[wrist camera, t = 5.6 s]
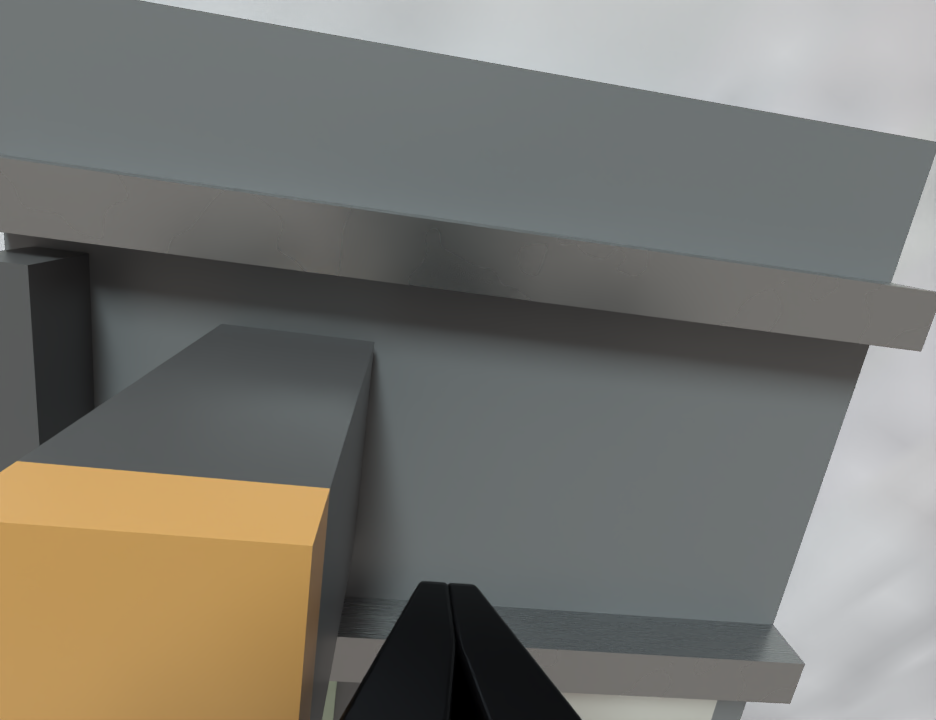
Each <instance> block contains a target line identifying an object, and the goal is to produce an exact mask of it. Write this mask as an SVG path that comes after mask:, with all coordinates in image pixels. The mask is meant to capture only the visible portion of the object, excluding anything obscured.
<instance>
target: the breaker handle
mask: <svg viewBox="0 0 936 720" xmlns="http://www.w3.org/2000/svg"><path fill="white" fill-rule="evenodd" d="M373 352H374V342H373V341H364V340H356V339H347V338H339V337H330V336H322V335H313V334H305V333H296V332H288V331H279V330H271V329H262V328H254V327H245V326H237V325H228V324H220V325H219V326H217V327H216V328H214V329H213V330H211V331H210V332H208V333H207V334H205V335H204V336H203V337H201V338H200V339H198V340H197V341H195V342H194V343H192V344H191V345H189V346H188V347H186V348H185V349H183V350H182V351H180V352H179V353H177V354H176V355H174V356H173V357H171V358H170V359H168V360H167V361H165V362H164V363H162V364H161V365H159V366H158V367H156V368H155V369H153V370H152V371H150V372H149V373H147V374H146V375H144V376H143V377H141V378H140V379H138V380H137V381H135V382H134V383H133V384H131V385H130V386H128V387H127V388H125V389H124V390H122V391H121V392H119V393H118V394H116V395H115V396H113V397H112V398H110V399H109V400H107V401H106V402H104V403H103V404H101V405H100V406H98V407H97V408H95V409H94V410H92V411H91V412H89V413H88V414H86V415H85V416H83V417H82V418H80V419H79V420H77V421H76V422H74V423H73V424H71V425H70V426H68V427H67V428H65V429H64V430H63V431H61V432H60V433H58V434H57V435H55V436H54V437H52V438H51V439H49V440H48V441H46V442H45V443H43V444H42V445H40V446H39V447H37V448H36V449H34V450H33V451H31V452H30V453H28V454H27V455H25V456H24V457H22V458H21V459H19V460H18V461H16V462H15V463H13V464H12V465H10V466H9V467H7V468H6V469H4V470H3V471H1V472H0V720H322V717H323V712H324V706H325V701H326V695H327V690H328V685H329V679H330V674H331V669H332V663H333V658H334V652H335V647H336V642H337V636H338V631H339V626H340V620H341V615H342V609H343V604H344V599H345V593H346V588H347V583H348V577H349V572H350V566H351V561H352V556H353V548H354V538H355V528H356V518H357V508H358V499H359V489H360V479H361V469H362V459H363V450H364V440H365V430H366V420H367V411H368V401H369V391H370V381H371V371H372V362H373Z"/></svg>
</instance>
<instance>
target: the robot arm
mask: <svg viewBox="0 0 936 720" xmlns="http://www.w3.org/2000/svg"><path fill="white" fill-rule="evenodd" d="M339 720H582V719H581V718H580V716H579V715H578V714H577V713H576V711H575V710H574V709H573V707H572V706H571V705H570V704H569V702H568V701H567V700H566V699H565V697H564V696H563V695H562V694H561V692H560V691H559V690H558V688H557V687H556V686H555V685H554V683H553V682H552V681H551V680H550V678H549V677H548V676H547V675H546V673H545V672H544V671H543V669H542V668H541V667H540V666H539V664H538V663H537V662H536V661H535V659H534V658H533V657H532V656H531V654H530V653H529V652H528V650H527V649H526V648H525V647H524V645H523V644H522V643H521V642H520V640H519V639H518V638H517V637H516V635H515V634H514V633H513V631H512V630H511V629H510V628H509V626H508V625H507V624H506V623H505V621H504V620H503V619H502V618H501V616H500V615H499V614H498V613H497V611H496V610H495V609H494V607H493V606H492V605H491V604H490V602H489V601H488V600H487V599H486V597H485V596H484V595H483V594H482V592H481V591H480V590H479V588H478V587H477V586H475V585H474V584H464V583H449V584H446V583H445V582H435V581H421V582H420V583H419V584H418V585H417V587H416V589H415V590H414V592H413V594H412V595H411V597H410V599H409V601H408V602H407V604H406V606H405V607H404V609H403V611H402V613H401V614H400V616H399V618H398V619H397V621H396V623H395V625H394V626H393V628H392V630H391V631H390V633H389V635H388V637H387V638H386V640H385V642H384V644H383V645H382V647H381V649H380V650H379V652H378V654H377V656H376V657H375V659H374V661H373V662H372V664H371V666H370V668H369V669H368V671H367V673H366V674H365V676H364V678H363V680H362V681H361V683H360V685H359V686H358V688H357V690H356V692H355V693H354V695H353V697H352V698H351V700H350V702H349V704H348V705H347V707H346V709H345V711H344V712H343V714H342V716H341V717H340V719H339Z"/></svg>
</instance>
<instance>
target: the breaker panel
mask: <svg viewBox="0 0 936 720" xmlns="http://www.w3.org/2000/svg"><path fill="white" fill-rule="evenodd" d="M935 154H936V142H934V141H928V140H922V139H917V138H911V137H905V136H900V135H894V134H889V133H883V132H877V131H872V130H866V129H860V128H855V127H849V126H844V125H838V124H832V123H827V122H821V121H815V120H810V119H804V118H798V117H793V116H787V115H782V114H776V113H770V112H765V111H759V110H753V109H748V108H742V107H737V106H731V105H725V104H720V103H714V102H708V101H703V100H697V99H691V98H686V97H680V96H675V95H669V94H663V93H658V92H652V91H646V90H641V89H635V88H630V87H624V86H618V85H613V84H607V83H601V82H596V81H590V80H585V79H579V78H573V77H568V76H562V75H556V74H551V73H545V72H539V71H534V70H528V69H523V68H517V67H511V66H506V65H500V64H494V63H489V62H483V61H478V60H472V59H466V58H461V57H455V56H449V55H444V54H438V53H432V52H427V51H421V50H416V49H410V48H404V47H399V46H393V45H387V44H382V43H376V42H371V41H365V40H359V39H354V38H348V37H342V36H337V35H331V34H325V33H320V32H314V31H309V30H303V29H297V28H292V27H286V26H280V25H275V24H269V23H264V22H258V21H252V20H247V19H241V18H235V17H230V16H224V15H219V14H213V13H207V12H202V11H196V10H190V9H185V8H179V7H173V6H168V5H162V4H157V3H151V2H145V1H140V0H0V232H4V240H5V250H4V251H0V472H1V471H3V470H4V469H6V468H7V467H9V466H10V465H12V464H13V463H15V462H16V461H18V460H19V459H21V458H22V457H24V456H25V455H27V454H28V453H30V452H31V451H33V450H34V449H36V448H37V447H39V446H40V445H42V444H43V443H45V442H46V441H48V440H49V439H51V438H52V437H54V436H55V435H57V434H58V433H60V432H61V431H63V430H64V429H65V428H67V427H68V426H70V425H71V424H73V423H74V422H76V421H77V420H79V419H80V418H82V417H83V416H85V415H86V414H88V413H89V412H91V411H92V410H94V409H95V408H97V407H98V406H100V405H101V404H103V403H104V402H106V401H107V400H109V399H110V398H112V397H113V396H115V395H116V394H118V393H119V392H121V391H122V390H124V389H125V388H127V387H128V386H130V385H131V384H133V383H134V382H135V381H137V380H138V379H140V378H141V377H143V376H144V375H146V374H147V373H149V372H150V371H152V370H153V369H155V368H156V367H158V366H159V365H161V364H162V363H164V362H165V361H167V360H168V359H170V358H171V357H173V356H174V355H176V354H177V353H179V352H180V351H182V350H183V349H185V348H186V347H188V346H189V345H191V344H192V343H194V342H195V341H197V340H198V339H200V338H201V337H203V336H204V335H205V334H207V333H208V332H210V331H211V330H213V329H214V328H216V327H217V326H219V325H220V324H228V325H237V326H245V327H254V328H262V329H271V330H279V331H288V332H296V333H305V334H313V335H322V336H330V337H339V338H347V339H356V340H364V341H373V342H374V352H373V362H372V371H371V381H370V391H369V401H368V411H367V420H366V430H365V440H364V450H363V459H362V469H361V479H360V489H359V499H358V508H357V518H356V528H355V538H354V548H353V556H352V561H351V566H350V572H349V577H348V583H347V588H346V593H345V599H344V604H343V609H342V615H341V620H340V626H339V631H338V636H337V642H336V647H335V652H334V658H333V663H332V669H331V674H330V679H329V685H328V690H327V695H326V701H325V706H324V712H323V717H322V720H339V719H340V717H341V716H342V714H343V712H344V711H345V709H346V707H347V705H348V704H349V702H350V700H351V698H352V697H353V695H354V693H355V692H356V690H357V688H358V686H359V685H360V683H361V681H362V680H363V678H364V676H365V674H366V673H367V671H368V669H369V668H370V666H371V664H372V662H373V661H374V659H375V657H376V656H377V654H378V652H379V650H380V649H381V647H382V645H383V644H384V642H385V640H386V638H387V637H388V635H389V633H390V631H391V630H392V628H393V626H394V625H395V623H396V621H397V619H398V618H399V616H400V614H401V613H402V611H403V609H404V607H405V606H406V604H407V602H408V601H409V599H410V597H411V595H412V594H413V592H414V590H415V589H416V587H417V585H418V584H419V583H420V582H421V581H435V582H445V583H446V584H449V583H464V584H474V585H475V586H477V587H478V588H479V590H480V591H481V592H482V594H483V595H484V596H485V597H486V599H487V600H488V601H489V602H490V604H491V605H492V606H493V607H494V609H495V610H496V611H497V613H498V614H499V615H500V616H501V618H502V619H503V620H504V621H505V623H506V624H507V625H508V626H509V628H510V629H511V630H512V631H513V633H514V634H515V635H516V637H517V638H518V639H519V640H520V642H521V643H522V644H523V645H524V647H525V648H526V649H527V650H528V652H529V653H530V654H531V656H532V657H533V658H534V659H535V661H536V662H537V663H538V664H539V666H540V667H541V668H542V669H543V671H544V672H545V673H546V675H547V676H548V677H549V678H550V680H551V681H552V682H553V683H554V685H555V686H556V687H557V688H558V690H559V691H560V692H561V694H562V695H563V696H564V697H565V699H566V700H567V701H568V702H569V704H570V705H571V706H572V707H573V709H574V710H575V711H576V713H577V714H578V715H579V716H580V718H581V719H582V720H740V718H741V716H742V713H743V710H744V707H745V704H746V702H766V703H786V704H790V703H791V700H792V697H793V695H794V692H795V689H796V687H797V684H798V681H799V679H800V676H801V673H802V670H803V668H804V665H805V663H804V662H803V661H802V660H801V659H800V657H799V656H798V655H797V654H796V652H795V651H794V650H793V649H792V647H791V646H790V645H789V644H788V643H787V641H786V640H785V639H784V638H783V636H782V635H781V634H780V633H779V631H778V630H777V629H776V628H775V626H774V625H773V623H774V620H775V617H776V614H777V611H778V608H779V606H780V603H781V600H782V597H783V594H784V591H785V588H786V585H787V582H788V579H789V577H790V574H791V571H792V568H793V565H794V562H795V559H796V556H797V553H798V550H799V548H800V545H801V542H802V539H803V536H804V533H805V530H806V527H807V524H808V522H809V519H810V516H811V513H812V510H813V507H814V504H815V501H816V498H817V495H818V493H819V490H820V487H821V484H822V481H823V478H824V475H825V472H826V469H827V467H828V464H829V461H830V458H831V455H832V452H833V449H834V446H835V443H836V440H837V438H838V435H839V432H840V429H841V426H842V423H843V420H844V417H845V414H846V411H847V409H848V406H849V403H850V400H851V397H852V394H853V391H854V388H855V385H856V383H857V380H858V377H859V374H860V371H861V368H862V365H863V362H864V359H865V356H866V354H867V351H868V348H869V345H875V346H883V347H890V348H898V349H906V350H913V351H921V350H922V348H923V345H924V342H925V340H926V337H927V334H928V332H929V329H930V326H931V324H932V321H933V318H934V315H935V313H936V292H935V291H930V290H925V289H920V288H915V287H910V286H904V285H899V284H894V283H891V281H892V278H893V275H894V272H895V270H896V267H897V264H898V261H899V258H900V255H901V252H902V249H903V246H904V244H905V241H906V238H907V235H908V232H909V229H910V226H911V223H912V220H913V217H914V215H915V212H916V209H917V206H918V203H919V200H920V197H921V194H922V191H923V189H924V186H925V183H926V180H927V177H928V174H929V171H930V168H931V165H932V162H933V160H934V157H935Z"/></svg>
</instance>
